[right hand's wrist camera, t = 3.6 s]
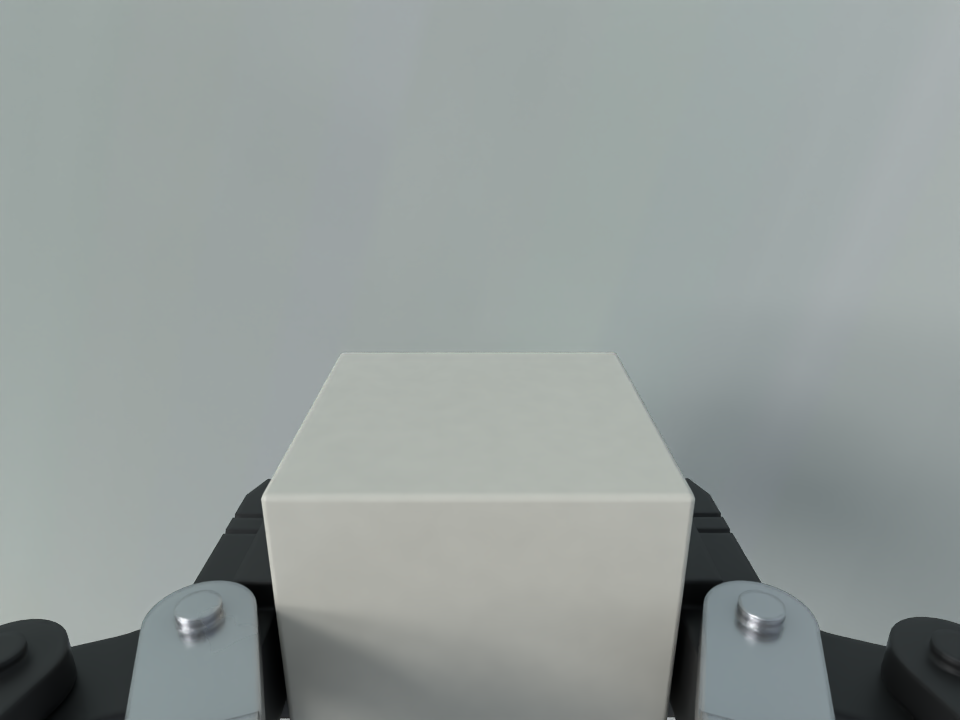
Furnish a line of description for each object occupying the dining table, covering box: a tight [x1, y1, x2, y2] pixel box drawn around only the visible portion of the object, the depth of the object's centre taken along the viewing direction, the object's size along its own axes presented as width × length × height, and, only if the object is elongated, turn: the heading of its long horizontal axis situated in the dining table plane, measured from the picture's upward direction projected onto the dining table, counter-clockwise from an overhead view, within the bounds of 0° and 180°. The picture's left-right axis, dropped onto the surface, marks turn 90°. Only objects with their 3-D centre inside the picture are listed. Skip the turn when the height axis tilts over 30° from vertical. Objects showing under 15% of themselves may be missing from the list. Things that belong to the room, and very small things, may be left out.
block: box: [261, 352, 695, 720], centre depth 10 cm, size 5×5×5 cm
